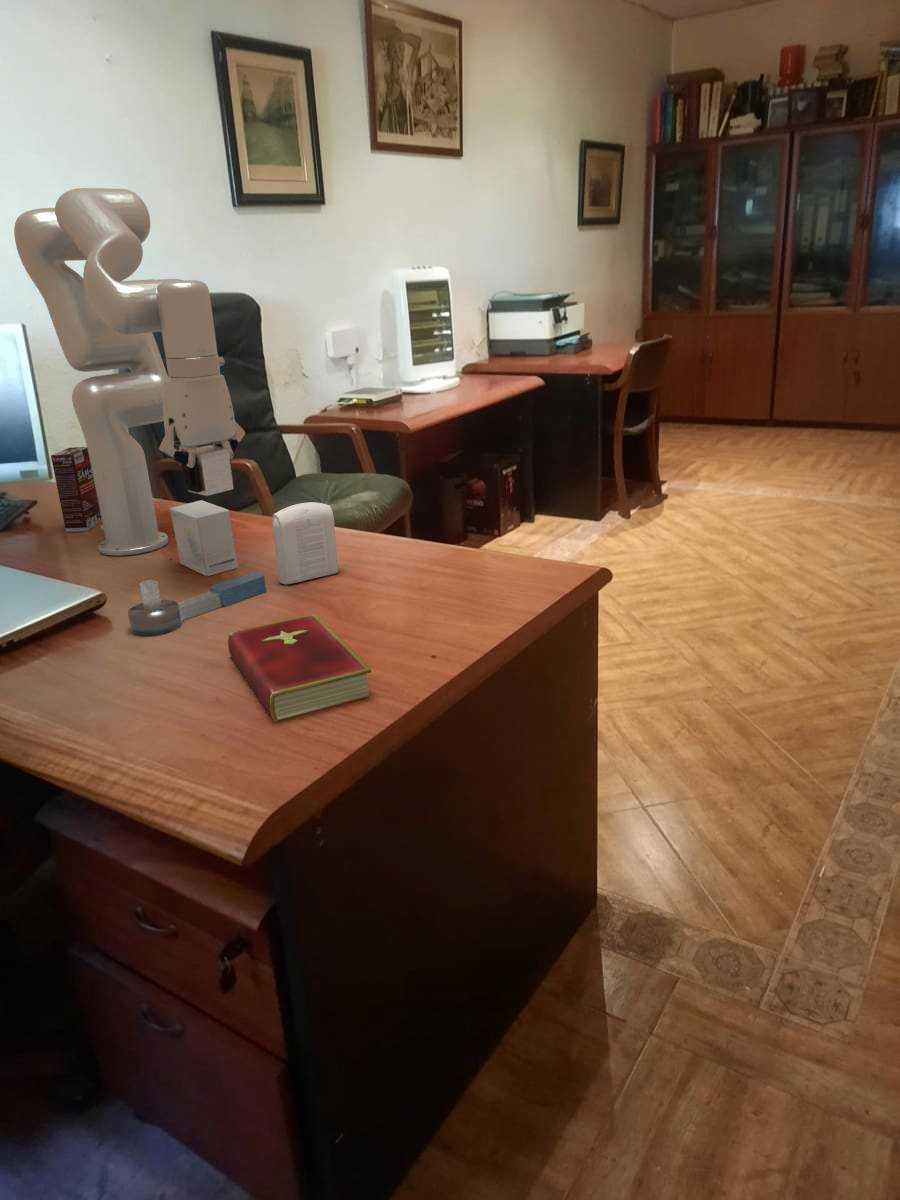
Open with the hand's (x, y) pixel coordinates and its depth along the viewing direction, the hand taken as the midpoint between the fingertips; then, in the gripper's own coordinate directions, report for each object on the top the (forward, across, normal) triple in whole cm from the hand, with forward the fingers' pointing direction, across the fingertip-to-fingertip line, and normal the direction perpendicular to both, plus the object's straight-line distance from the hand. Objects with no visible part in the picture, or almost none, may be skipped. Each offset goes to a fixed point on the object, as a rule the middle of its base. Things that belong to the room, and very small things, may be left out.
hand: (210, 486), depth 138 cm
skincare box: (+17, -4, -10) cm, 20 cm away
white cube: (+1, 0, 0) cm, 1 cm away
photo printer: (+16, -10, +10) cm, 21 cm away
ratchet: (+16, +10, +8) cm, 20 cm away
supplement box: (+18, -5, -56) cm, 59 cm away
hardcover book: (+16, +16, +38) cm, 44 cm away
